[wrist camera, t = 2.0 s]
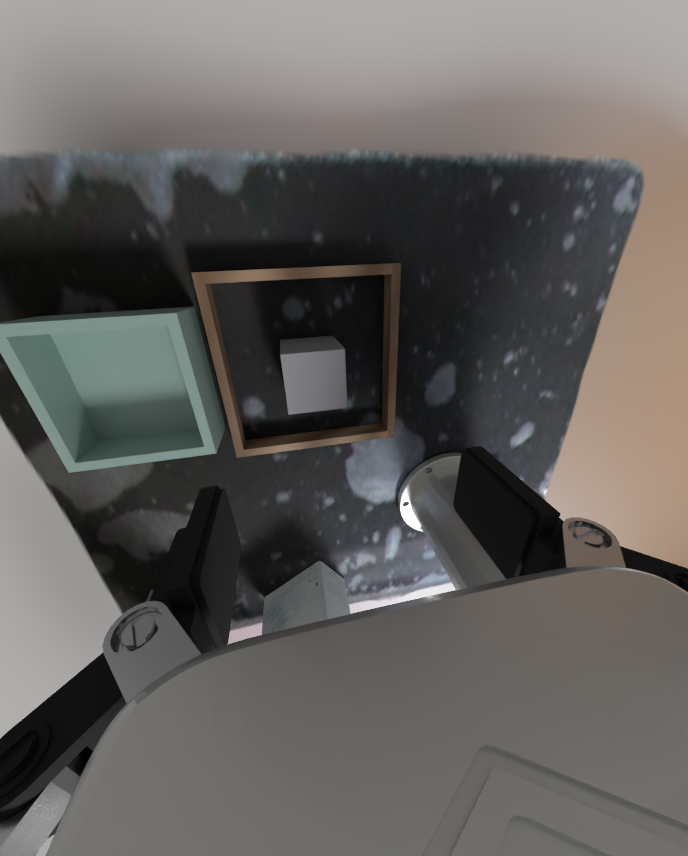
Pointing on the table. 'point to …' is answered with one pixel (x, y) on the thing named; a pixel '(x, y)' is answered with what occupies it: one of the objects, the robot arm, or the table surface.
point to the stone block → (313, 374)
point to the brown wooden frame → (224, 376)
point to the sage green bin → (117, 385)
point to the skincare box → (306, 599)
